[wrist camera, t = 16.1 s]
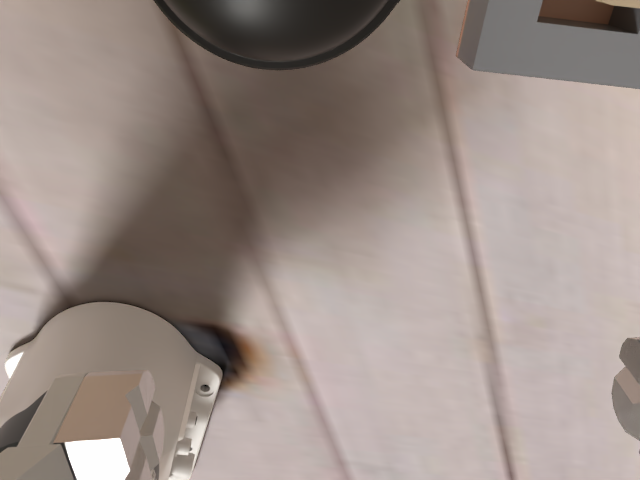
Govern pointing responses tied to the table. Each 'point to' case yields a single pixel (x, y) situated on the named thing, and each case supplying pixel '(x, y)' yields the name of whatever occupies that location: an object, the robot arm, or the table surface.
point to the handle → (622, 3)
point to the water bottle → (277, 28)
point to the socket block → (553, 40)
